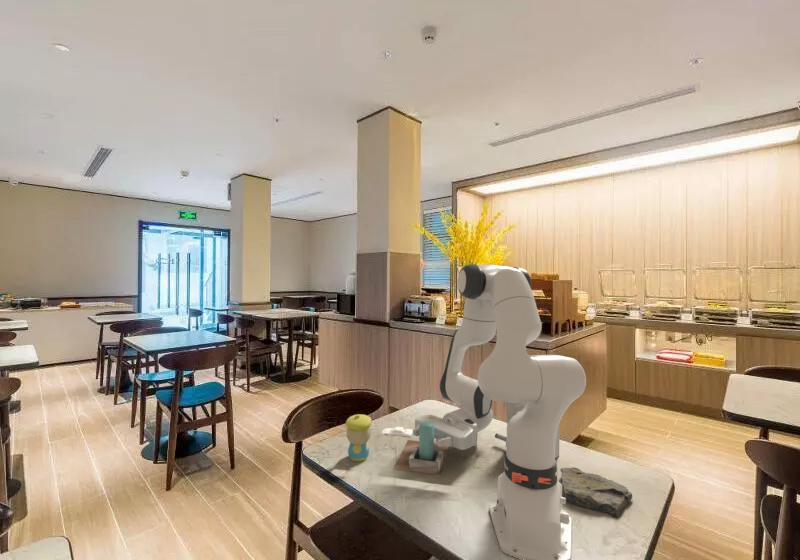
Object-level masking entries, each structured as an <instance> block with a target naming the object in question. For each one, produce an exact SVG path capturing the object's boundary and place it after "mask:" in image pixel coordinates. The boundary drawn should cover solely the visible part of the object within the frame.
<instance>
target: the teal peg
mask: <svg viewBox="0 0 800 560" xmlns="http://www.w3.org/2000/svg"><path fill="white" fill-rule="evenodd" d="M418 439H419V440H418V441H419V459H420V460H428V461H434V443H435V438H434V424H433V423H431V422H422V423H420V428H419V436H418Z"/></svg>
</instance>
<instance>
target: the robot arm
mask: <svg viewBox="0 0 800 560" xmlns="http://www.w3.org/2000/svg"><path fill="white" fill-rule="evenodd" d="M457 288H458V292H459V294H460V295H461V296H462V298H465V301H464V306H463V313H462V314H463V315H462V322H461V325H460V326H459V328H458V329H456V330H455V331H454V333H453V335H452V338H451V342H450V345H449V349H448V352H447V359H446V362H445V363H446V364H445V367H444V371H443V374H442V376H441V379H440V381H439V392H440V394H441V397H442V398H443V399H444V400H447V401H450V402H453V403H456V404H459V405H460V407H459V408H458V409H455V410H453V411H450V412H447V413H445V414H444V415H443V417H442V418H441V417H439V416H436V415H435V414H434V415H433V414H426V415H422V416H417V417H416V418H414V428H413V429H412V430H413V433H412V435H413V436H415V437H419V428H420V423H422V422H431V423H433V424H434V443H435V445H436V446H438V447H441V446H449V447H450V446H451V447H453V448H455V449H457V450H460V451H464V450H467V449H470V448H472V447H473V446H476V445H477V444H478V436H479V435H478V434H479V432H481V431H484V429H486V428H487V427H488V426H489V425H490V424H491V422H492V421H493V417H494V413H493V410H492V403H493V401H495V402H500V403H507V404H508V403H522V402H528V403H527V405H526V406H525V408H524V409H523V410H522V411H521V412H519V413H518V414H516V415H515V416H513V417H512V418H511V419H510V421H509V423H508V425H507V426H506V437H507V447H506V452H505V453H504V457H503V459H504V460H503V465H504V466H503V467H504V468H503V469H504V471H503V472H502V473H500V475H498V477H497V497H496V498H497V499H496V502H493V503H491V504H490V505H489V508H488V509H489V510H488V511H489V514H490V518H491V521H492V525H493V528H494V532H495V535H496V539H497V540H498V541H497V542H498V545H499V548H500V551H501V552H503V553H504V554H506V555H508V554H509V555H508V556H510V557H512V556H513V557H512V558H514V557H516V558H515V559H517V558H519V559H518V560H520V559H524V560H572V545H573V543H572V542H573V541H572V540H573V539H572V538H573V537H572V536H573V520H572V517H571V516H570V513H569V512H567V511H566V510H564V509H563V505H566V504H567V503H566V502H567V500H566V498H565V496H564V497H563V488H562V483H561V482H559V481H558V464H557V461H556V459H555V445H556V434H557V429H558V425H559V423H560V422H561V420H562V418H563V416H564V414H565V412H566V411H567V410H568V408H569V407H570V405H572V403H574V402H575V400H577V399H579V397H581V396H582V395H583V393H584V392H585V389H586V386H587V376H586V372H585V370H584V368H583V366H582V364H580V362H579V361H578V360H577V359H576V358H573V357H569V356H565V355H559V354H528V352H527V346H528V345H529V344H531V343H532V342H534V341H535V340H536V339H538V338H539V337H540V335H541V333H542V328H543V327H542V321H541V318H540V313H539V311H538V307H537V303H536V299H535V296H534V293H533V290H532V279H531V276H530V274H529V272H528V270H526V269H524V268H520V267H518V266H513V267H511V266H507V265H498V264H492V263H491V264H476V263H473V264H472V263H471V264H466V265H464V266H462V268H461V269H460V271H459V273H458V277H457ZM495 336H496V342H495V346H494V348H493V350H492V351H491V353H490V354H489V355H488V356H487V357H486V358H485V359H484V360H483V361H482V362H481V364H480V366H479V368H478V372H477V379H475V378H471V377H469V376H467V375H464V374H463V372H462V366H463V361H464V357H465V354H466V351H467V350H468V348H469V347H474V346H479V345H485V344H487V343H489V342H490V341H491V340H492V339H493V338H494V337H495ZM560 424H561V423H560Z"/></svg>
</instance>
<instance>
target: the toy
mask: <svg viewBox="0 0 800 560" xmlns="http://www.w3.org/2000/svg"><path fill="white" fill-rule="evenodd" d="M372 421H373V420H372V418H371V417H370V416H369V415H367V414H359V413H357V414H353V415H350V416H349V417H348V418H347V419H346V421H345V425H346V428H347V429H346V438H347V440H348V442H349V445H348V447H347V448H348V449H347V454H348V457H349V459H350V460H351V461H354V462H363V461H366V460H367V458H368V456H369V455H370V447H369V444H368V442H369V440H370V438H371V434H372V433H371V432H372V429H371V428H372V427H371V425H372Z"/></svg>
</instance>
